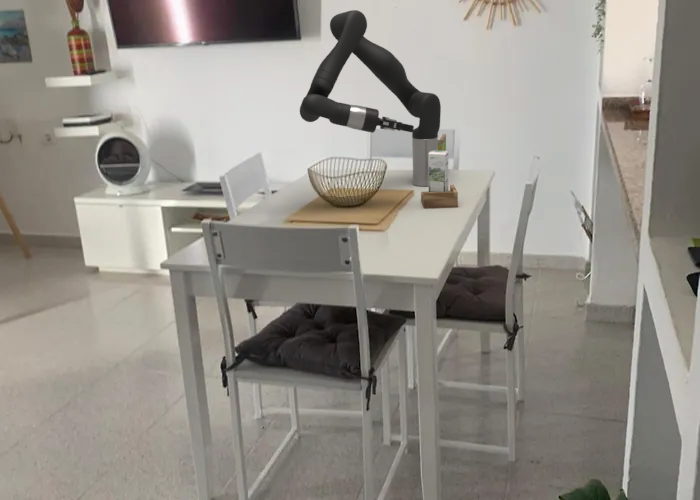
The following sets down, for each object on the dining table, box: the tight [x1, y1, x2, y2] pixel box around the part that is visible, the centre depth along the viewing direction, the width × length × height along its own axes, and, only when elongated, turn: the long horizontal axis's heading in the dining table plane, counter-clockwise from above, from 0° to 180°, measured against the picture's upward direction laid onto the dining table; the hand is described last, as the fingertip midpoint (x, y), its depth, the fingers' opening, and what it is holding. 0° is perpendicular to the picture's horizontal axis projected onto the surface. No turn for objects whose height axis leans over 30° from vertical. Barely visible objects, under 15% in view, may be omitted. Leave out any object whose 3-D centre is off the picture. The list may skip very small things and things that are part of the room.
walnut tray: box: [420, 184, 459, 209], centre depth 247 cm, size 11×11×5 cm
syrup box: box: [428, 150, 449, 192], centre depth 244 cm, size 6×6×14 cm
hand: (410, 128), depth 242 cm, fingers open, 8 cm apart
